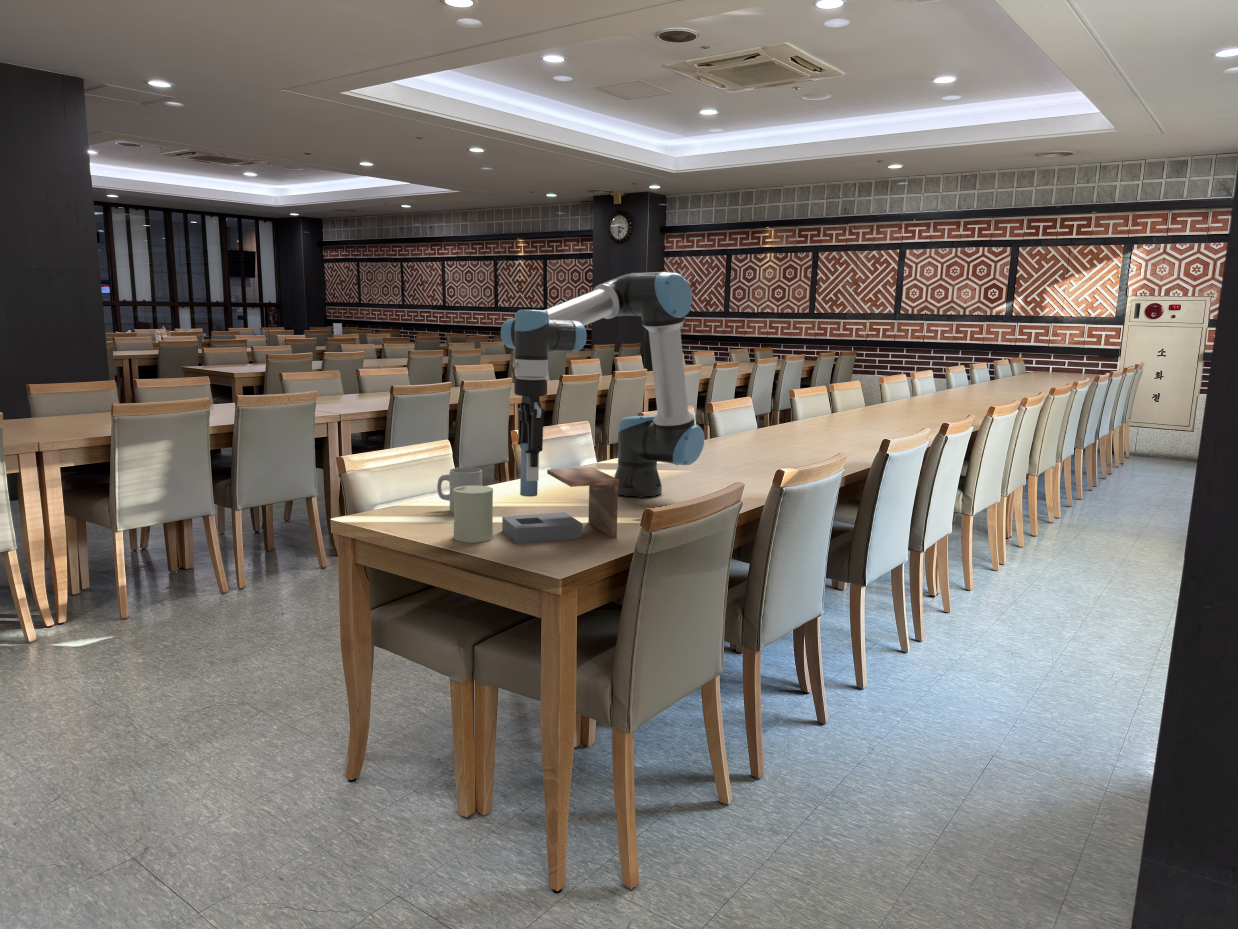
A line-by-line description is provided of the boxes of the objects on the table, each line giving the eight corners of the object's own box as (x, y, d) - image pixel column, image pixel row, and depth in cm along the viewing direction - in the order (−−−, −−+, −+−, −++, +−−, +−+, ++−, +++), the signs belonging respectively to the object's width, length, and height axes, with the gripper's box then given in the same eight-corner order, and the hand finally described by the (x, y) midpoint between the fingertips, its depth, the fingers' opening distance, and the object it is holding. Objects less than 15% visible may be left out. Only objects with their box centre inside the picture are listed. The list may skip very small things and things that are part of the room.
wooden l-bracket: (591, 521, 211) (592, 467, 208) (617, 538, 195) (619, 479, 193) (546, 524, 206) (547, 469, 204) (569, 542, 191) (570, 482, 188)
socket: (565, 526, 205) (565, 512, 205) (582, 538, 195) (582, 523, 194) (502, 530, 199) (502, 516, 199) (516, 543, 188) (516, 528, 188)
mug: (486, 508, 222) (486, 467, 221) (477, 515, 214) (477, 473, 212) (442, 505, 224) (442, 465, 222) (432, 512, 215) (432, 471, 213)
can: (455, 532, 197) (455, 483, 194) (494, 532, 197) (494, 483, 195) (451, 542, 187) (450, 491, 185) (492, 543, 188) (492, 491, 186)
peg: (534, 492, 196) (535, 442, 194) (539, 496, 193) (540, 445, 191) (518, 493, 195) (519, 443, 193) (523, 496, 191) (523, 445, 189)
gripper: (505, 375, 195) (504, 473, 199) (526, 380, 180) (524, 486, 184) (535, 375, 198) (533, 471, 202) (558, 381, 183) (556, 484, 187)
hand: (529, 478), depth 193 cm, fingers closed on peg, 4 cm apart
